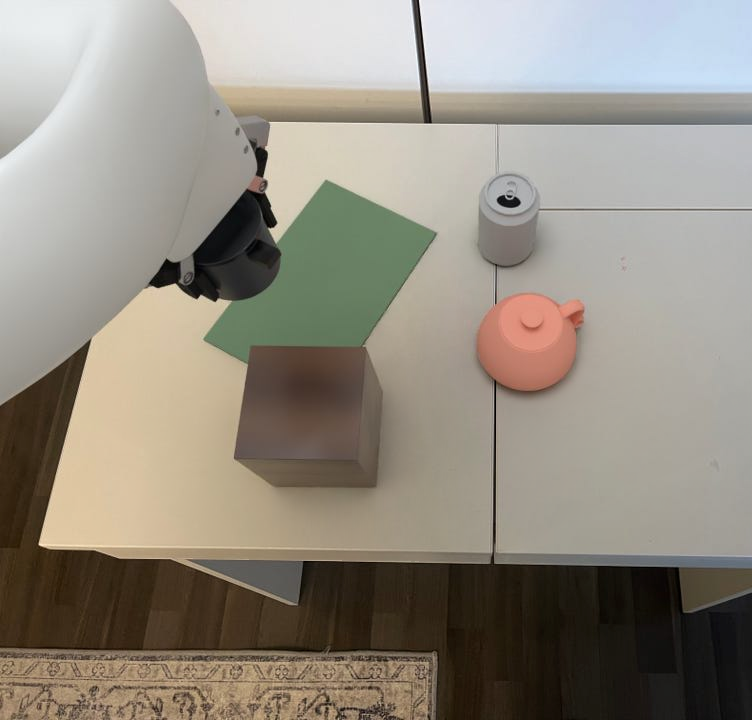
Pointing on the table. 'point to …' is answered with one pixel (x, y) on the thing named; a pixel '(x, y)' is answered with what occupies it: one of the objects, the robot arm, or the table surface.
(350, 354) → the stand
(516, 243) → the can
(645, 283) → the table surface
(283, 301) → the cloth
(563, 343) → the sugar bowl
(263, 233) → the pot
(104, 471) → the table surface
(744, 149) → the table surface
